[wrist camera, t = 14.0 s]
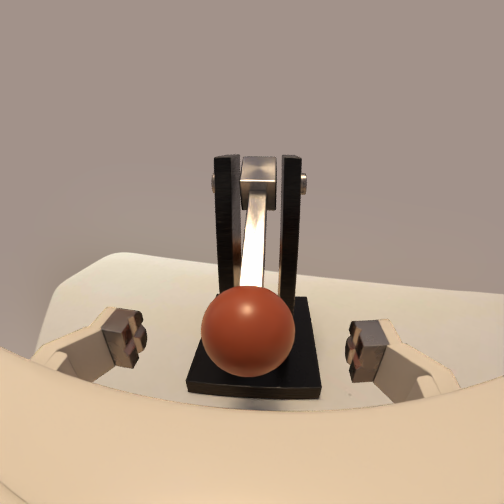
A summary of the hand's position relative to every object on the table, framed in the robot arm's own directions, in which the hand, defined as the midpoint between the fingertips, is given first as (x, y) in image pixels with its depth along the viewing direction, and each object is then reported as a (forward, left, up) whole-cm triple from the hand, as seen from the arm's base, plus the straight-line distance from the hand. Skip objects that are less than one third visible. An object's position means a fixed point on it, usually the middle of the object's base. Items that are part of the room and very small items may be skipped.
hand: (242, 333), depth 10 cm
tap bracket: (-2, +10, -9) cm, 13 cm away
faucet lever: (-1, +6, 0) cm, 6 cm away
